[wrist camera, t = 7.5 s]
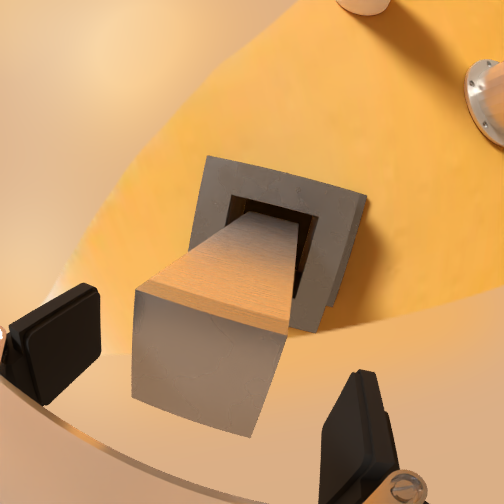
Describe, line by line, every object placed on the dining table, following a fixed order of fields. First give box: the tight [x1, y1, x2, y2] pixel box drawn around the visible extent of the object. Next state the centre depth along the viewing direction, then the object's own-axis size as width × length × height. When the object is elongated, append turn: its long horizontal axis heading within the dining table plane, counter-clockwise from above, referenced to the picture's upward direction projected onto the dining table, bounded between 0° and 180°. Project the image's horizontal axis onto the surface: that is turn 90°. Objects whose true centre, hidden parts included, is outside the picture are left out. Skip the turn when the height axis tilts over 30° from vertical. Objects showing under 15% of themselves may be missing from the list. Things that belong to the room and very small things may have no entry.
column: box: [132, 211, 299, 438], centre depth 20 cm, size 5×6×22 cm
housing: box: [188, 156, 367, 333], centre depth 32 cm, size 19×14×10 cm
